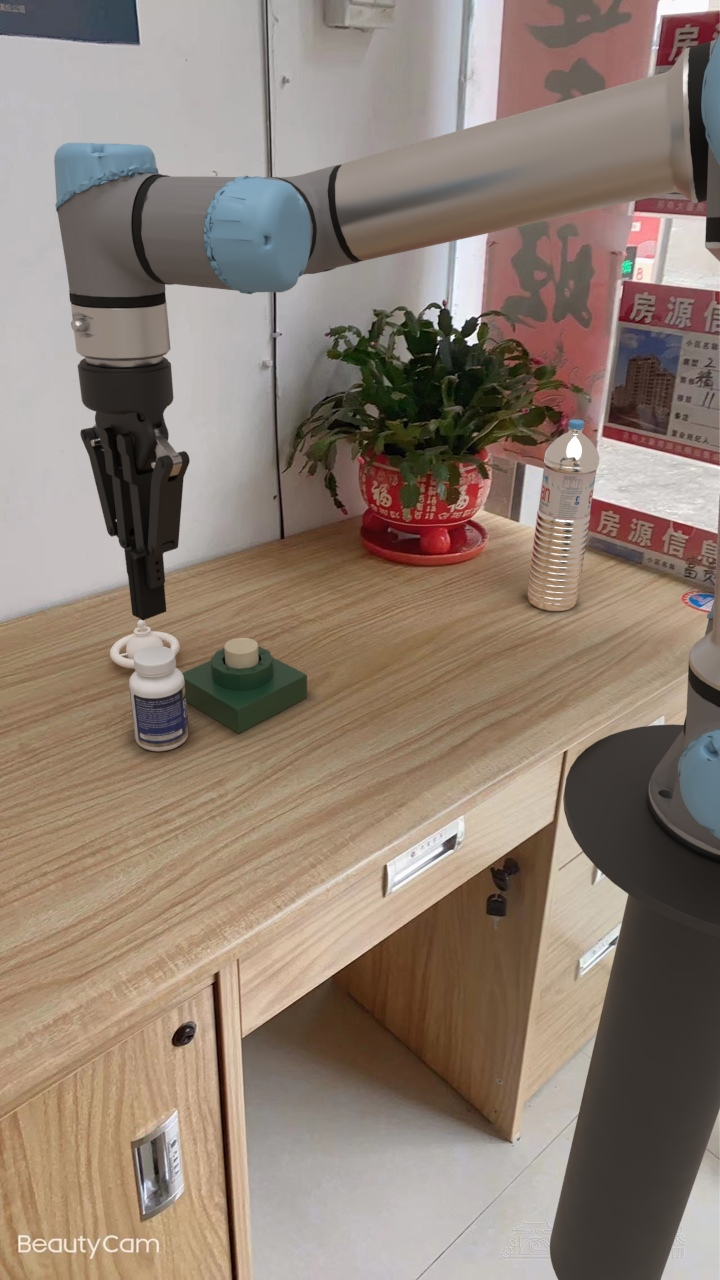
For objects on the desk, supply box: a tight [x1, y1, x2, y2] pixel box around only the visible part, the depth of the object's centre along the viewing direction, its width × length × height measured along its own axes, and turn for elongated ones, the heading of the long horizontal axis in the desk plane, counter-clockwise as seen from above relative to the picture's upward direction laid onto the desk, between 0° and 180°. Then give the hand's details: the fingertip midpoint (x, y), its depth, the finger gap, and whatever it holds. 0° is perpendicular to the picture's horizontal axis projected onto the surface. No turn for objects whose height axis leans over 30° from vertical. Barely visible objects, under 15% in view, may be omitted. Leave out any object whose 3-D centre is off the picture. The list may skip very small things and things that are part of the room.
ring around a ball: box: [109, 619, 181, 670], centre depth 103 cm, size 8×6×8 cm
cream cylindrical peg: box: [223, 637, 259, 669], centre depth 95 cm, size 4×4×2 cm
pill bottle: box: [128, 646, 189, 752], centre depth 88 cm, size 5×5×10 cm
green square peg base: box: [182, 645, 308, 734], centre depth 97 cm, size 10×10×5 cm
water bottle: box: [526, 418, 600, 612], centre depth 116 cm, size 7×7×25 cm
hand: (149, 612), depth 84 cm, fingers closed
